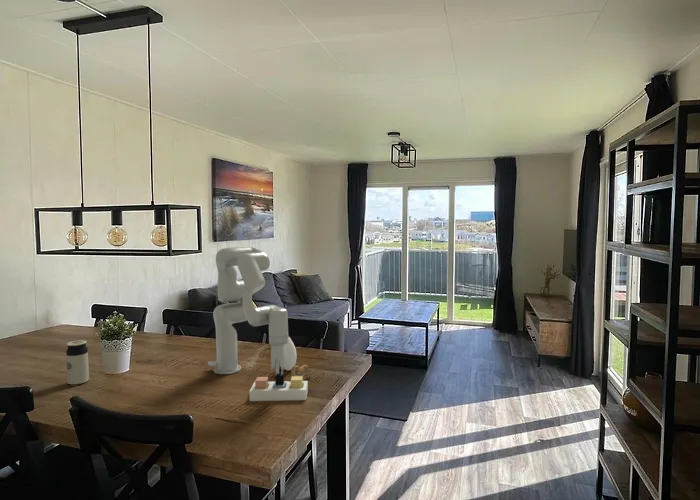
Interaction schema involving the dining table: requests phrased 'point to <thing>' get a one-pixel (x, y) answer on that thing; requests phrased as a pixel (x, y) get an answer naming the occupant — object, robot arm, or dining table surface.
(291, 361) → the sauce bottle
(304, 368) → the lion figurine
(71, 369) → the travel mug
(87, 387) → the dining table surface
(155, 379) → the dining table surface
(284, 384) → the blue button
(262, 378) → the terracotta button
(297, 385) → the ochre button
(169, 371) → the dining table surface
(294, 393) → the button board
